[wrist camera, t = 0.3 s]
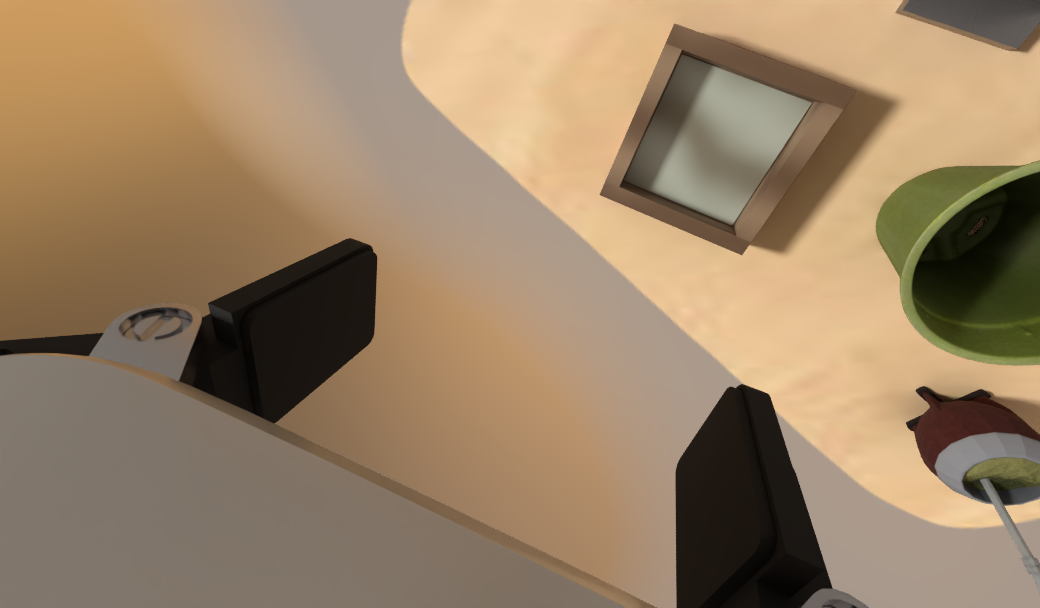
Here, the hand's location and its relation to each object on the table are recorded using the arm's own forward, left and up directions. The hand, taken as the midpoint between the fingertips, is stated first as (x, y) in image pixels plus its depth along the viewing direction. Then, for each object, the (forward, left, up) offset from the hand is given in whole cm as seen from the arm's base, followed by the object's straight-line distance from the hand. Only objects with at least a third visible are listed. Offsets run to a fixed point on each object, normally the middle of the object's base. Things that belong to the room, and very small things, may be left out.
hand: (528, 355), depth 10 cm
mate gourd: (+9, +35, -30) cm, 47 cm away
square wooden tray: (-4, +5, -30) cm, 31 cm away
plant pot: (-5, +22, -30) cm, 38 cm away
